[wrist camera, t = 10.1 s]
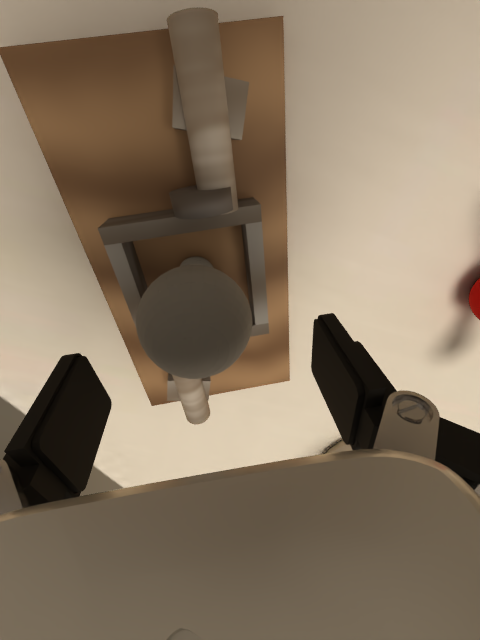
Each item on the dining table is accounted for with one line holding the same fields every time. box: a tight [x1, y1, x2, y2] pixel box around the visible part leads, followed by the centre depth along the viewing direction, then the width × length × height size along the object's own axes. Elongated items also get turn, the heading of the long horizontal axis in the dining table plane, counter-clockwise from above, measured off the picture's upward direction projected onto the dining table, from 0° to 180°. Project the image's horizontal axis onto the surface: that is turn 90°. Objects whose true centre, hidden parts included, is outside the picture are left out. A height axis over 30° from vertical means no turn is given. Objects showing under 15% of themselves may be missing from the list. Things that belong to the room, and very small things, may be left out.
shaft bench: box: [0, 8, 290, 424], centre depth 20 cm, size 26×14×5 cm, turn 6°
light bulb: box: [136, 256, 252, 379], centre depth 17 cm, size 6×6×10 cm
